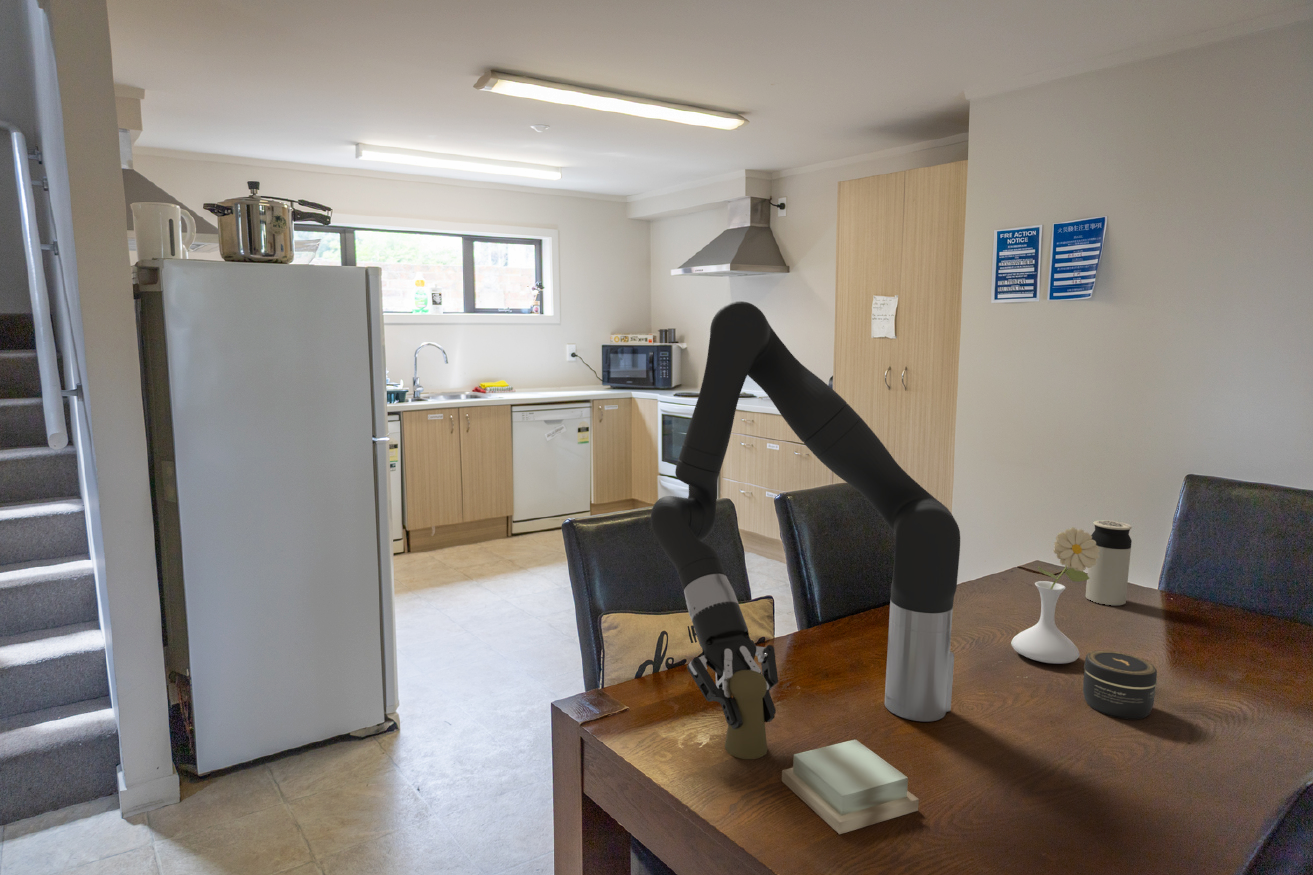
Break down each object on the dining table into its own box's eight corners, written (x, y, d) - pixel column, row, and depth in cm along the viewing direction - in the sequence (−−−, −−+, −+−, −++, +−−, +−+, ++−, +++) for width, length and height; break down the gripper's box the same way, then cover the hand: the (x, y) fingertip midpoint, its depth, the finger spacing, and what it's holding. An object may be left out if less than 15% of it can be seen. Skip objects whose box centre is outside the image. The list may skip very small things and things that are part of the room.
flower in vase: (1011, 663, 140) (1022, 529, 137) (1009, 641, 151) (1018, 516, 148) (1093, 676, 135) (1106, 537, 132) (1084, 652, 146) (1096, 523, 143)
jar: (1092, 687, 131) (1096, 644, 130) (1160, 707, 124) (1165, 662, 123) (1072, 705, 124) (1076, 660, 123) (1143, 728, 117) (1148, 680, 116)
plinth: (855, 761, 106) (856, 734, 105) (918, 810, 95) (920, 780, 95) (781, 780, 101) (782, 752, 100) (839, 834, 90) (841, 802, 90)
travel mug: (1093, 605, 173) (1100, 526, 171) (1079, 593, 181) (1086, 518, 179) (1131, 607, 172) (1139, 529, 170) (1116, 596, 180) (1124, 520, 177)
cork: (721, 737, 112) (723, 664, 110) (762, 736, 112) (765, 664, 111) (728, 759, 106) (731, 683, 104) (771, 758, 106) (775, 682, 105)
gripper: (680, 605, 110) (719, 723, 101) (765, 594, 116) (809, 704, 107) (664, 628, 116) (699, 742, 106) (745, 616, 122) (786, 723, 112)
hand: (754, 722), depth 107 cm, fingers closed on cork, 4 cm apart
